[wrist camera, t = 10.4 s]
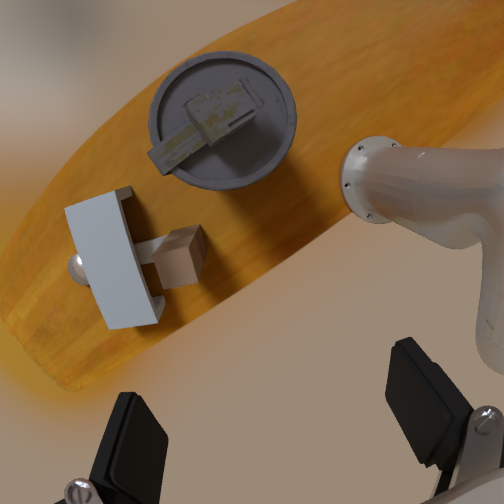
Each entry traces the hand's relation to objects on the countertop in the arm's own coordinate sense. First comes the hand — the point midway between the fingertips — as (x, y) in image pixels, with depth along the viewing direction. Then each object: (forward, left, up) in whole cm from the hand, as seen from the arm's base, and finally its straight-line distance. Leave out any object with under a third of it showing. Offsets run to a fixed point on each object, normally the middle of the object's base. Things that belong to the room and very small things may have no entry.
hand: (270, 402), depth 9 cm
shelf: (+18, +1, -30) cm, 35 cm away
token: (+25, +2, -31) cm, 40 cm away
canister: (0, -11, -31) cm, 32 cm away
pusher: (+14, +2, -30) cm, 33 cm away
